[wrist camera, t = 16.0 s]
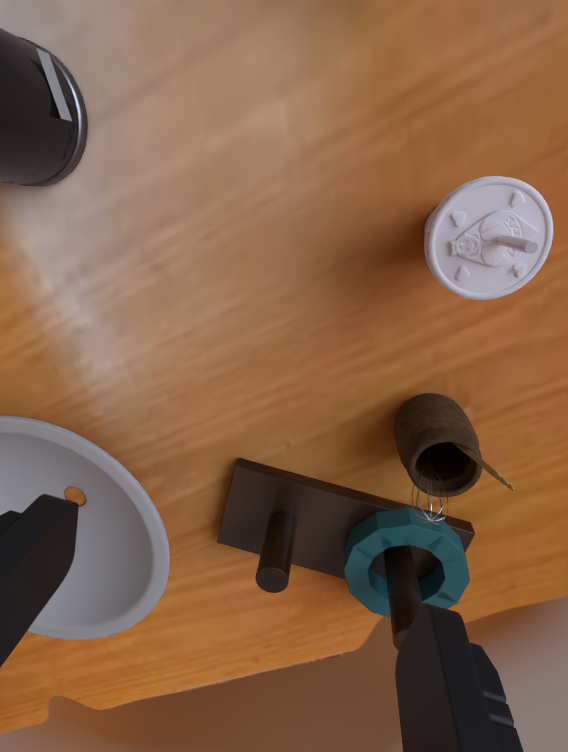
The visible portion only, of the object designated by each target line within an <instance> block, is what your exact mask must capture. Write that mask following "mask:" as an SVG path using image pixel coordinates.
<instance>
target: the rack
mask: <svg viewBox="0 0 568 752" xmlns="http://www.w3.org/2000/svg"><path fill="white" fill-rule="evenodd" d="M407 507H409V508H412V506H410V505H406V504H402V503H399V502H395V501H392V500H388V499H385V498H381V497H377V496H374V495H370V494H367V493H363V492H360V491H356V490H352V489H349V488H345V487H342V486H338V485H335V484H331V483H327V482H324V481H320V480H317V479H313V478H309V477H306V476H302V475H299V474H295V473H292V472H288V471H284V470H281V469H277V468H274V467H270V466H267V465H263V464H259V463H256V462H252V461H249V460H245V459H242V458H238V461H237V463H236V466H235V469H234V473H233V478H232V482H231V486H230V490H229V494H228V498H227V502H226V507H225V511H224V515H223V519H222V523H221V527H220V532H219V536H218V540H217V543H221V544H224V545H228V546H232V547H235V548H239V549H242V550H246V551H249V552H253V553H256V554H260V555H261V556H260V560H259V564H258V569H257V573H256V582H257V584H258V586H259V587H260V588H261V589H263V590H264V591H267V592H271V593H277V592H281V591H283V590H284V589H285V588H286V587H287V585H288V581H289V574H290V567H291V564H295V565H298V566H302V567H305V568H309V569H312V570H316V571H319V572H323V573H326V574H330V575H334V576H337V577H341V578H344V579H346V576H345V573H344V549H345V547H346V544H347V542H348V539H349V537H350V534H351V532H352V529H353V528H354V527H356V526H357V525H358V524H360V523H361V522H363V521H364V520H366V519H367V518H368V517H370V516H371V515H373V514H374V513H376V512H380V511H387V510H393V509H400V508H407ZM413 508H414V509H416V507H413ZM413 508H412V509H413ZM417 510H419V511H422V509H420V508H417ZM423 511H424V512H426V513H428V511H427V510H424V509H423ZM429 513H430V514H433V515H437V514H438V513H435V512H431V511H429ZM437 516H439V517H440V518H441V514H438V515H437ZM443 517H445V515H442V518H443ZM442 520H443V521H444V522H445V523H446V524H447V525H448V526H449V527H450V528H451V529H452V530H453V531H454V532H455V533H457V534H458V535H459V537H460V540H461V543H462V546H463V549H464V552H466V550H467V548H468V546H469V544H470V542H471V541H472V539H473V537H474V535H475V532H474V529H473V527H472V524H471V523H470V522H467V521H463V520H460V519H456V518H452V517H449V516H446V517H445V518H443V519H442ZM438 562H439V559H438V558H437V557H436V556H435V555H434V554H432V553H431V552H430V551H429V550H426V549H423V548H419V547H416V546H412V545H401V546H393V547H388V548H387V549H385V550H384V551H382V552H381V553H379V554H378V555H376V556H375V557H373V560H372V562H371V564H370V568H371V569H372V570H373V571H375V572H376V573H377V574H378V575H379V576H380V577H381V578H383V579H386V581H387V591H388V600H389V609H390V618H391V627H392V634H393V643H394V646H395V647H396V649H398V650H399V649H400V646H401V644H402V642H403V640H404V638H405V636H406V634H407V632H408V630H409V628H410V626H411V624H412V622H413V620H414V618H415V616H416V614H417V612H418V610H419V608H420V606H421V605H422V601H421V596H420V591H419V585H418V581H420V580H421V579H423V578H425V577H426V576H428V575H430V574H431V573H433V572H434V570H435V568H436V566H437V564H438Z"/></svg>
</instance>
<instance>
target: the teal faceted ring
mask: <svg viewBox="0 0 568 752" xmlns="http://www.w3.org/2000/svg"><path fill="white" fill-rule="evenodd" d="M414 510H415V512H416V509H414ZM414 510H413V509H412V508H409V507H407V508H400V509H393V510H387V511H380V512H376V513H374V514H373V515H371V516H370V517H368V518H367V519H366V520H364V521H363V522H361V523H360V524H358V525H357V526H356V527H354V528H353V529H352V532H351V534H350V537H349V539H348V542H347V544H346V547H345V549H344V573H345V576H346V579H347V583H348V586H349V590H350V593H351V594H352V595H353V596H354V597H355V598H356V599H358V600H359V601H360V602H361V603H362V604H363V605H364V606H365V607H367V608H368V609H369V610H370V611H371V612H374V613H377V614H380V615H384V616H387V617H390V609H389V600H388V591H387V581H386V579H383V578H381V577H380V576H379V575H378V574H377V573H376V572H375V571H373V570H372V569H371V568H370V564H371V562H372V560H373V557H375V556H376V555H378V554H379V553H381V552H382V551H384V550H385V549H387V548H388V547H393V546H401V545H412V546H416V547H419V548H423V549H426V550H429V551H430V552H431V553H432V554H434V555H435V556H436V557H437V558H438V559H439V562H438V564H437V566H436V568H435V570H434V572H433V573H431V574H430V575H428V576H426V577H425V578H423V579H421V580H420V581H418V585H419V591H420V596H421V601H422V604H424V603H427V604H430V605H434V606H437V607H441V608H444V609H448V608H449V607H451V606H453V605H455V604H456V603H458V601H459V599H460V597H461V596H462V594H463V592H464V590H465V588H466V587H467V585H468V583H469V581H470V577H469V571H468V566H467V560H466V555H465V552H464V549H463V546H462V543H461V540H460V537H459V535H458V534H457V533H455V532H454V531H453V530H452V529H451V528H450V527H449V526H448V525H447V524H446V523H445V522H444V521H443V520H442V521H441V520H439V519H441V518H440V517H439V516H436V515H433V514H430V513H429V519H430V516H431V519H432V518H434V517H435V516H436V517H435V518H434V519H432V520H437V521H433V522H434V523H433V522H432V521H431V523H430V521H429V522H426V521H428V520H426V519H428V518H427V517H428V513H426V512H423V511H419V510H417V514H418V515H419V516H421V517H422V518H421V517H419V516H418V515H416V513H415V512H414ZM424 513H425V514H426V515H427V516H426V515H425V514H424ZM417 517H418V519H419V520H420V521H422V522H420V521H419V520H418V519H417ZM423 518H425V519H423ZM440 522H441V523H440ZM435 523H437V524H435ZM438 523H440V524H438ZM429 524H430V526H429Z"/></svg>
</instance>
